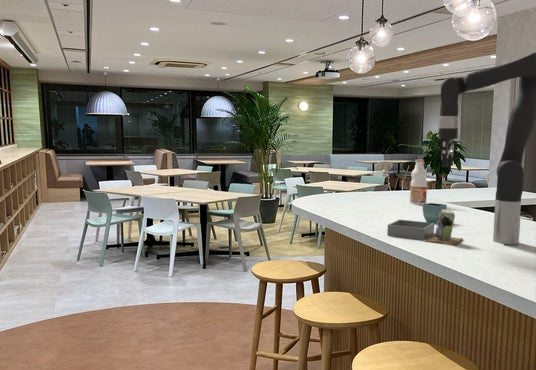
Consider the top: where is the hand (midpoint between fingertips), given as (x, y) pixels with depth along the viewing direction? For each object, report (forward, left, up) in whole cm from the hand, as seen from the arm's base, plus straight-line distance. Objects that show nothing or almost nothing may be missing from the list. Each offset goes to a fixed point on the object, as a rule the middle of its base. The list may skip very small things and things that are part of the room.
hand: (446, 166), depth 199 cm
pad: (-2, +9, -30) cm, 31 cm away
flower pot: (+12, -31, -30) cm, 45 cm away
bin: (+13, +4, -30) cm, 32 cm away
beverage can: (-2, +8, -29) cm, 31 cm away
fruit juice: (+34, -82, -30) cm, 94 cm away
